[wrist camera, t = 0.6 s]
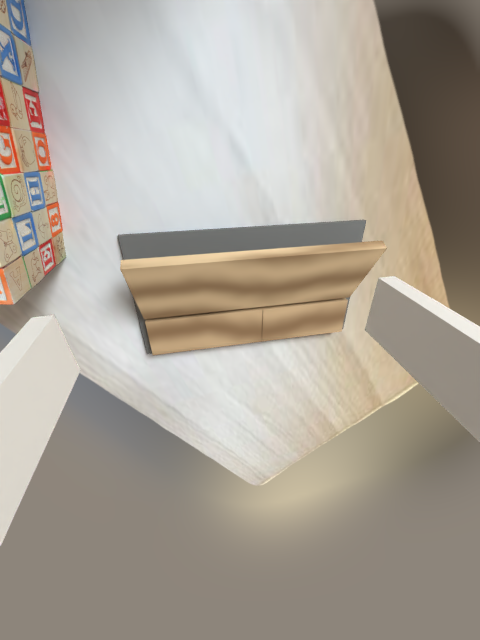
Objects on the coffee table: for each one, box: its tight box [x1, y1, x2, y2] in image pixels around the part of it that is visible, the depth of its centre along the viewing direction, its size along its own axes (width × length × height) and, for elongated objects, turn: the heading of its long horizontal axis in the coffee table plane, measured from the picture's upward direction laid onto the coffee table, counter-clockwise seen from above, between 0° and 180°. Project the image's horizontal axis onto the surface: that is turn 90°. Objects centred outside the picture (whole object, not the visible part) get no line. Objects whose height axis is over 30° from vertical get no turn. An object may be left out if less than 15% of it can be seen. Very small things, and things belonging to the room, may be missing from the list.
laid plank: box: [145, 298, 348, 355], centre depth 40 cm, size 6×29×1 cm, turn 91°
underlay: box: [118, 220, 366, 354], centre depth 38 cm, size 17×31×1 cm, turn 91°
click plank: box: [120, 241, 387, 319], centre depth 33 cm, size 10×29×1 cm
